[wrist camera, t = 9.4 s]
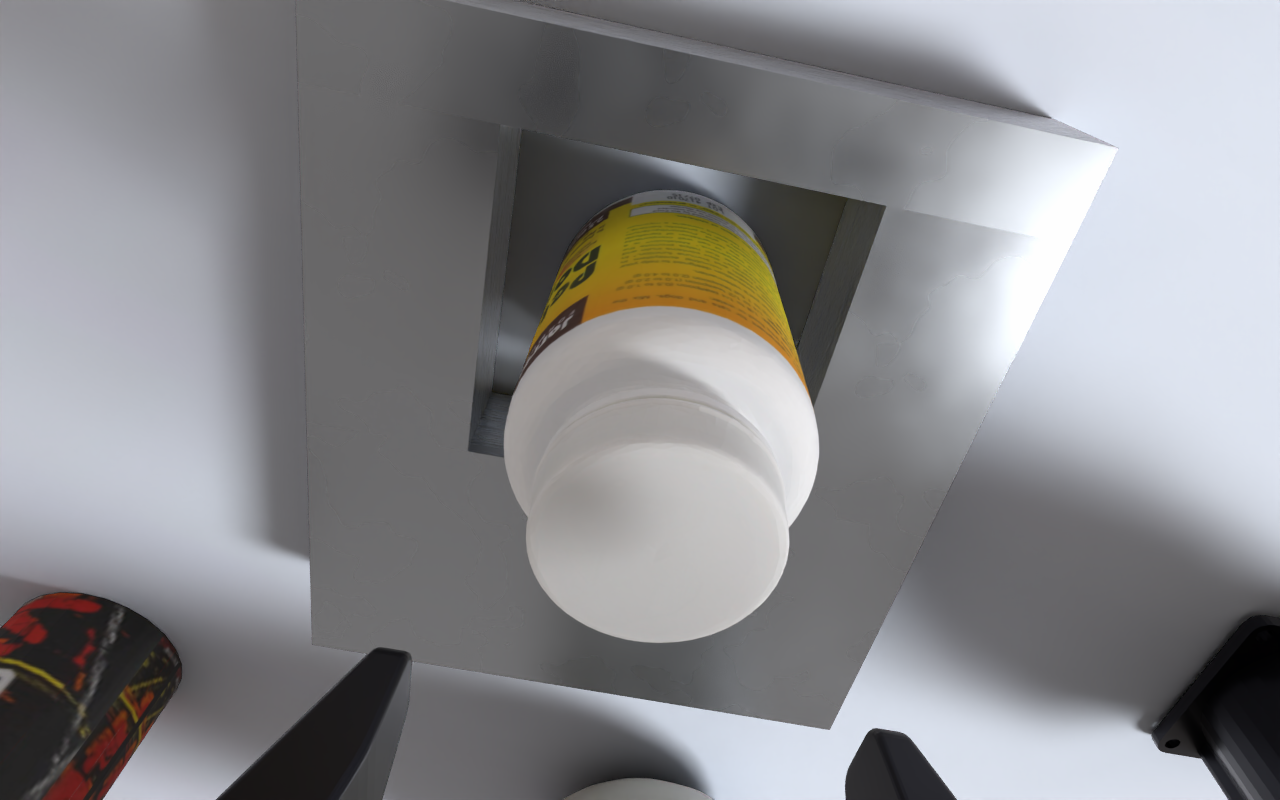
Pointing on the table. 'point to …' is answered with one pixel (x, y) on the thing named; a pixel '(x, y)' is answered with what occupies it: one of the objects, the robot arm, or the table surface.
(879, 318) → the jig block
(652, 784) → the gray bottle
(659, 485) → the supplement bottle
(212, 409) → the table surface
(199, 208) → the table surface
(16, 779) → the deodorant
